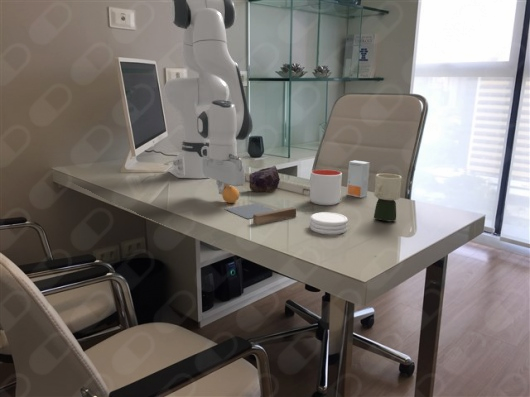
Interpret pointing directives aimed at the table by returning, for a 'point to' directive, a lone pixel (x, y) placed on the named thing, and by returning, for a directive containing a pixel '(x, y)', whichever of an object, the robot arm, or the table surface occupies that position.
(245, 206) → the grey mark
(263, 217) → the walnut bar
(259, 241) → the table surface
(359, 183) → the skincare box
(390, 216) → the character mug
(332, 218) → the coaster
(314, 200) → the cup
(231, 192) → the ball
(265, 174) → the rock
